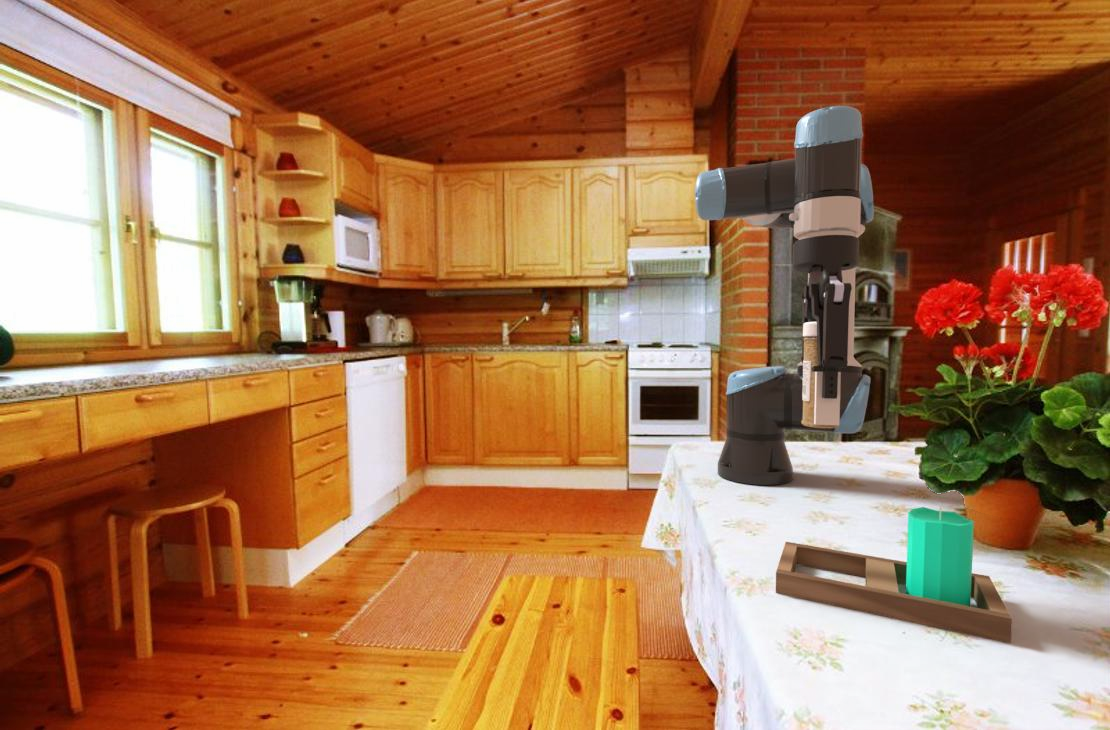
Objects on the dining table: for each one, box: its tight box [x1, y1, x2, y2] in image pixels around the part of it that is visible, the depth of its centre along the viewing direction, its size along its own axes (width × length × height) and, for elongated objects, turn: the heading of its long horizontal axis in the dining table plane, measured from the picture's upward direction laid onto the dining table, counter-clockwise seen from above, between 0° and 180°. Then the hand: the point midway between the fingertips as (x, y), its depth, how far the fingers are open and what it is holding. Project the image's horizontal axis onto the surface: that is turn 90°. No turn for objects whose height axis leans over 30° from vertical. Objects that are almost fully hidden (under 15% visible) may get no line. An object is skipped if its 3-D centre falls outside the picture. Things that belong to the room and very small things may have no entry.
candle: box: [905, 502, 975, 607], centre depth 61 cm, size 6×6×12 cm
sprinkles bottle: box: [801, 322, 841, 428], centre depth 69 cm, size 5×5×14 cm
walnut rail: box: [775, 541, 1013, 644], centre depth 64 cm, size 10×22×2 cm, turn 61°
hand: (821, 421), depth 69 cm, fingers closed on sprinkles bottle, 4 cm apart
